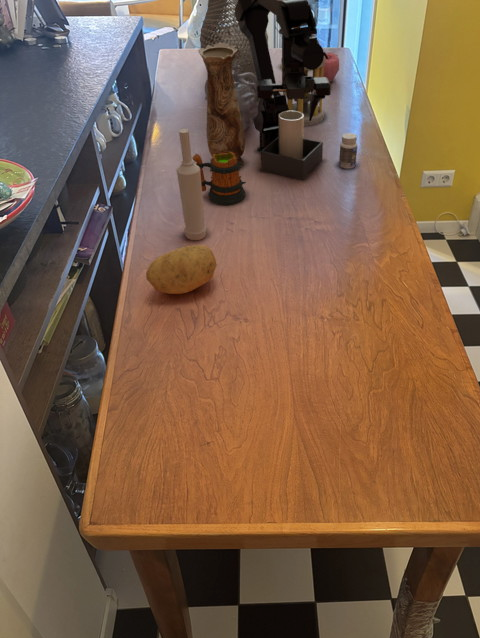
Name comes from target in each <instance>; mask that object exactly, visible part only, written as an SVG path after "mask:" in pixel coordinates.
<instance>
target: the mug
mask: <svg viewBox="0 0 480 638" xmlns="http://www.w3.org/2000/svg"><path fill="white" fill-rule="evenodd" d="M192 160H193V161H194V163H195V164H196V165H197V166H199V167H200V173H201V185H202V193H203V192H206V190H207V186H209V187H210V188H209V191H208V200H209V201H210V202H212V203H213V204H216V205H219V206H233V205H236V204H239V203H241V202H242V201H244V200H245V198H246V191H245V189H244V187H243V185H244V184H247V181H242V176H241V175H240V168H241V167H243V166H244V165H245V164H242V163H239V162H238V160H239V159H236V156H235V154H234V153H233V152H230V151H229V152H228V153H220V154H213V156H211V159H210V162H203V159H202V157H201V155H200V154H199V153H195V154H194V155H193V156H192ZM242 165H243V166H242ZM240 166H241V167H240ZM239 167H240V168H239ZM204 168H210V170H209V172H211V176H210V179H211V180H210V181H207V180H206V179H205V175H204Z"/></svg>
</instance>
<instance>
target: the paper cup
mask: <svg viewBox="0 0 480 638" xmlns="http://www.w3.org/2000/svg"><path fill="white" fill-rule="evenodd" d="M278 120H279V155H283V156H288V157H293V158H297V159H302V160H303V138H305V137H304V136H305V135H304V133H305V126H304V114H303V113H301V112H298V111H284V112H281V113H280V114H279V116H278Z"/></svg>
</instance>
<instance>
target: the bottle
mask: <svg viewBox="0 0 480 638" xmlns="http://www.w3.org/2000/svg"><path fill="white" fill-rule="evenodd" d="M178 135H179V143H180V149H181V159H182V160H181V162H180V165H179V166H177V168H176V175H177V181H178V190H179V194H180V195H179V196H180V201H181V208H182V215H183V222H184V228H183V230H184V234H185V237H186V238H187V239H188V240H191V241H200V240H202V239H204V238H205V237H206V236H207V226H206V223H205V213H204V211H205V210H204V199H203V191H202V185H201V173H200V167H199V166H197V165H196V162H195V161H194V160H193V159H192V158H193V156H192V151H191V140H190V131H189V129H188V128H181V129H179V130H178Z"/></svg>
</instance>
